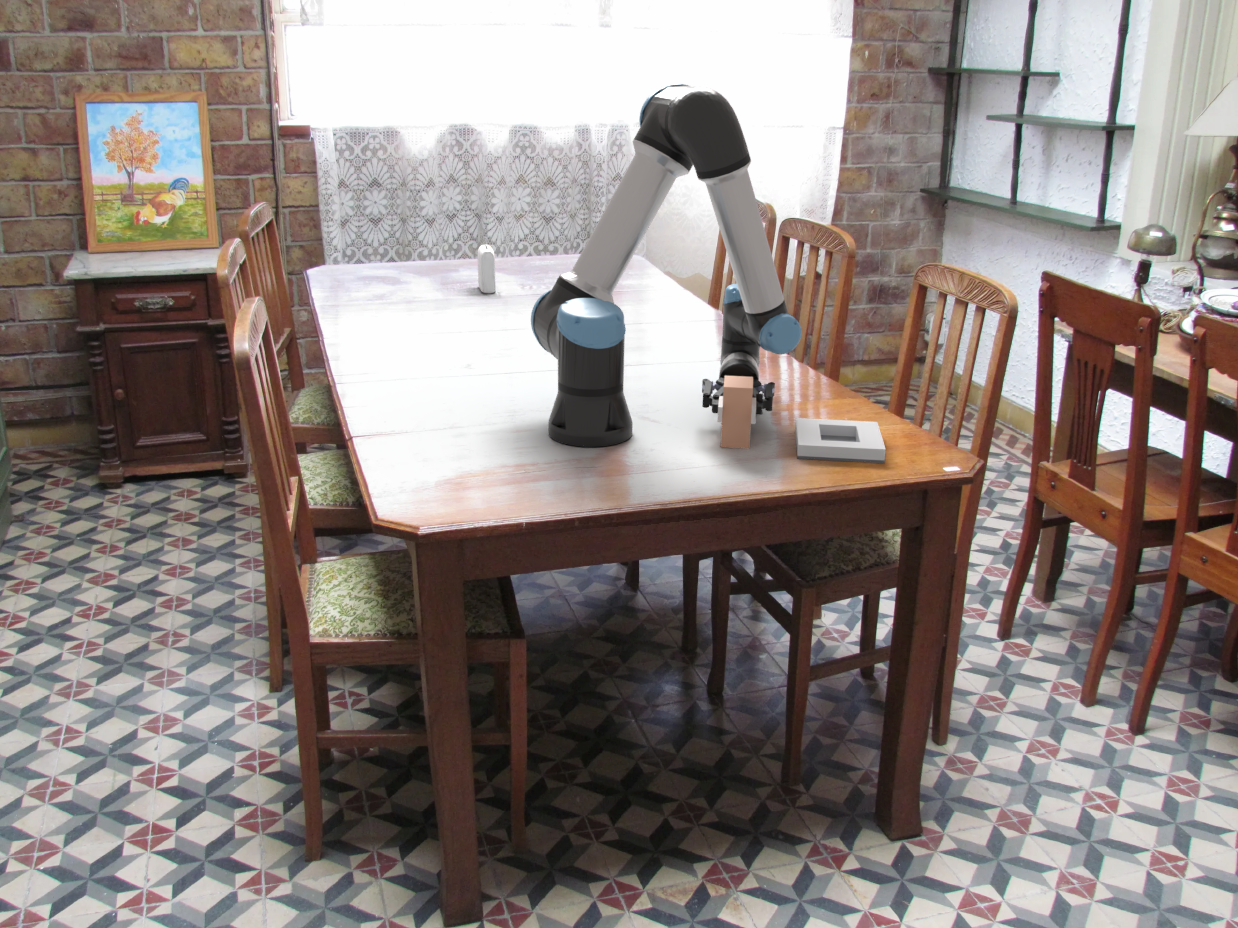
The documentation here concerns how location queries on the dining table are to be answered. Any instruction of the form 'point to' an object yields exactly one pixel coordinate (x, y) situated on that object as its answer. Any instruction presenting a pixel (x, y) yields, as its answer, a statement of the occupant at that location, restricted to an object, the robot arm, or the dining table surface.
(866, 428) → the pocket plate
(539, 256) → the dining table surface
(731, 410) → the peach block
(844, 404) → the dining table surface
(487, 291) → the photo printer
